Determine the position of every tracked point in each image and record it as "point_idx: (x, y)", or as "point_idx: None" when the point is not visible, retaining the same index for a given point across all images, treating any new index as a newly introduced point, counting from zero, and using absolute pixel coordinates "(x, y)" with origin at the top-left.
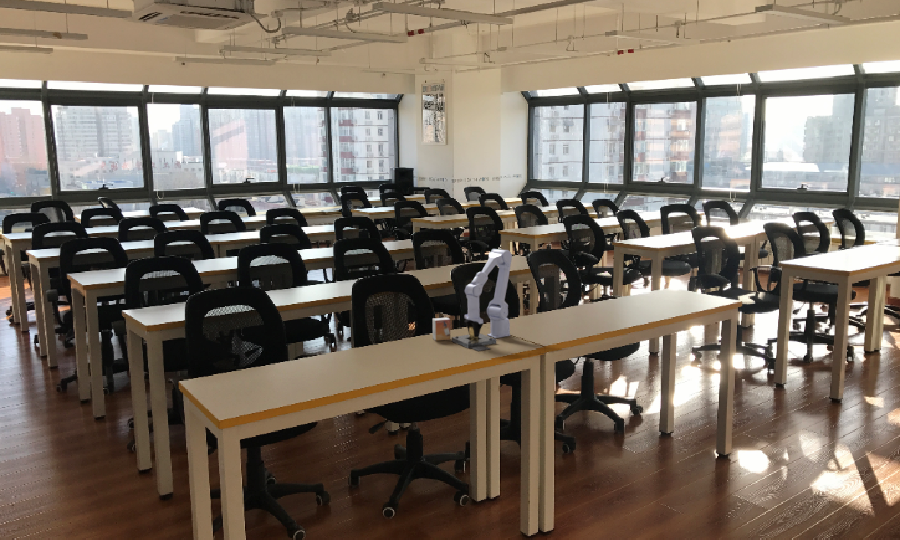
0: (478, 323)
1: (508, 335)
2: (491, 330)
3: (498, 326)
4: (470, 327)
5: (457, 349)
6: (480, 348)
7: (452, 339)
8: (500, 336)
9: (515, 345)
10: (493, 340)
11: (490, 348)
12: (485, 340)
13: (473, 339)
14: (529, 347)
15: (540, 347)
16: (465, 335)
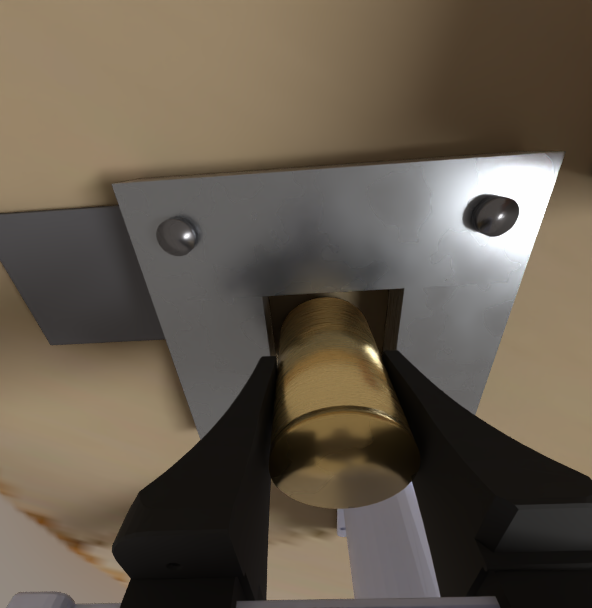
0: (142, 586)
1: (337, 526)
2: (405, 516)
3: (359, 579)
4: (336, 424)
5: (121, 8)
6: (64, 275)
7: (519, 153)
8: None
9: (129, 480)
10: (202, 436)
11: (50, 343)
12: (209, 394)
13: (286, 328)
14: (66, 505)
15: (57, 531)
16: (487, 335)
